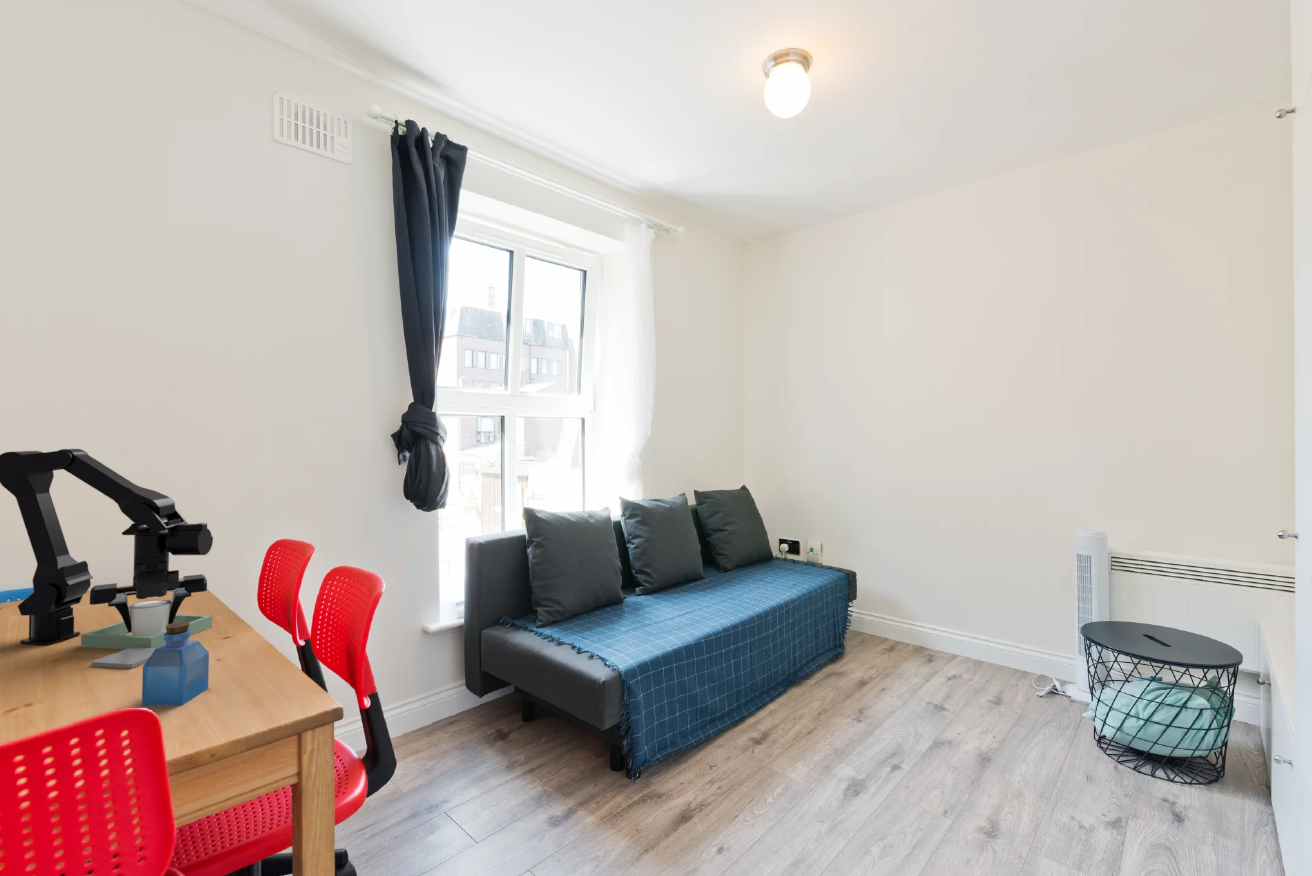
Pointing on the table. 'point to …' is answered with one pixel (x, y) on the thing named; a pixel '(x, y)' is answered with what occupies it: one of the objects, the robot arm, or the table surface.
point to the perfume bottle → (175, 669)
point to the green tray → (115, 640)
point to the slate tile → (125, 658)
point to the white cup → (149, 617)
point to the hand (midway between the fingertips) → (150, 629)
